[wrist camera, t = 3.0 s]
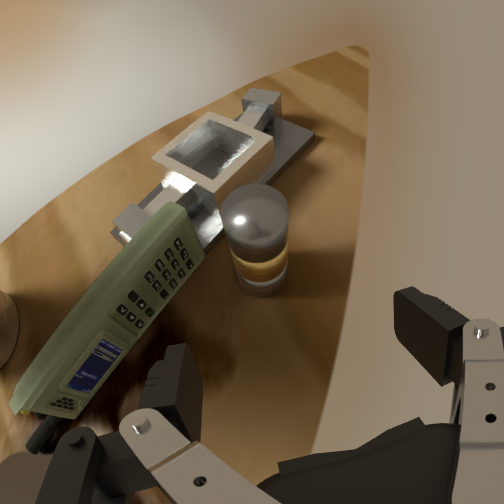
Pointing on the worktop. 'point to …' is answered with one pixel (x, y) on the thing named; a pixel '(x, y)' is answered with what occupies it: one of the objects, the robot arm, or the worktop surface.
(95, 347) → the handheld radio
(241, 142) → the base
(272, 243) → the grey cylinder with band
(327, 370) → the worktop surface
